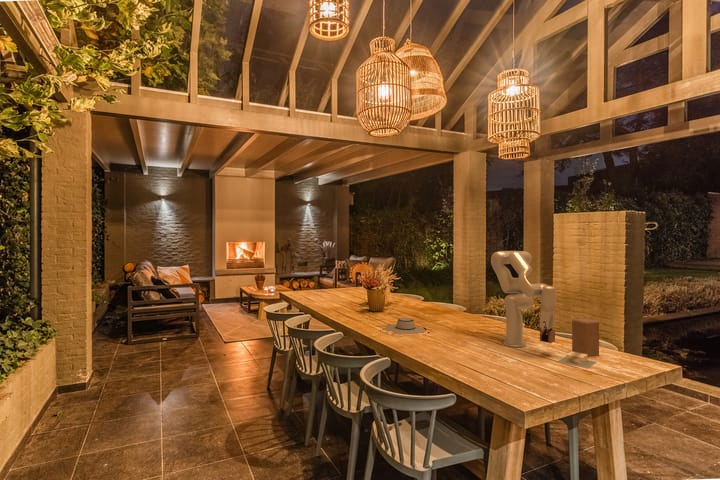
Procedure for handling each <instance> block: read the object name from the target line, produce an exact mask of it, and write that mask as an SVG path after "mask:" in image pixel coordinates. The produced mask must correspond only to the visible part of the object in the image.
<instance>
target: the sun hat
mask: <svg viewBox="0 0 720 480" xmlns="http://www.w3.org/2000/svg"><path fill="white" fill-rule="evenodd" d="M386 326H387V327H385V326H384V327H385V328H383V327H382V328H383V329H382V330H386V331H392V332H393V333H394V334H399V335H401V334H418V333H424V332H426V330H425V329H422V328H420V327H421V326H416V324H415V321H414V318H410V317H409V318H408V317H401V318H397V322H396V323H395V324H388V325H386Z"/></svg>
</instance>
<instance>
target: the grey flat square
mask: <svg viewBox="0 0 720 480" xmlns="http://www.w3.org/2000/svg"><path fill="white" fill-rule="evenodd" d="M557 363H560V364H565V365H569V366H574V367H578V368H584V369H587V370H588V369H590V368H591V367H593V365H595V364H596V363H597V361H594V360H589V359H588V362H587V363H585V364H584V365H578V364H573V363H569V362H566V356H564V357H563V358H561V359H559V360H558V361H557Z"/></svg>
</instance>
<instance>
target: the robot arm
mask: <svg viewBox="0 0 720 480" xmlns="http://www.w3.org/2000/svg"><path fill="white" fill-rule="evenodd" d="M532 260H533V257H532V254H531V253H530V252H528V251H526V250H522V251H521V250H499V251H495V252H493V253H492V255H491V258H490V263H491V267H492V270H493V271H494V272H495V274H496V276H497V279H498V282H499V285H500V287H501V290H502V291H503V293H504V294H508V295H506V296H505V297H504V302H503V303H504V308H505V315H506V316H505V320H506V323H505V324H506V325H505V326H506V327H505V329H506V331H505V332H506V333H505V335H506V336H505V335H500V340H503V345H505V346H507V347H511V348H524V347H526V343H525V342H524V341H523V340H524V339H523V338H524V336H523V335H524V333H523V332H524V331H523V330H524V328H523V327H524V326H523V325H524V324H523V323H524V322H523V320H524V319H523V314H522V312H521V310H526V309H527V310H528V309H530V308H532V307H533V305H534V300H533V298H536V297H537V298H540V311H541V312H540V318H539V328H540V330H542V341H545V342H544V343H547V342H548V330H549V329H550V330H554V327H555V325H556V323H555V321H556V315H555V312H556V310H557V288H556V286H553V285H549V284H546V283H541V282H540V283H530V282H529V280H528V279H527V277H528V276H530V275H531V274H532V271H533V268H532V267H531V265H530V264H531V263H532V262H533V261H532ZM509 264H510V265H511V266H512V268H513V269H514V270H515V272H516V273H517V275H518V277H513V276H512V274H511V271H510V269H509V268H508V267H507V265H509ZM542 341H541V342H542Z"/></svg>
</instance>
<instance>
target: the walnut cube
mask: <svg viewBox="0 0 720 480" xmlns="http://www.w3.org/2000/svg"><path fill="white" fill-rule="evenodd" d="M539 342H543V343H547V344H552V343H554V342H556V330H555V329H553V330H550V329H549V330H548V342H545V341H542V330H541V329H540V330H539Z"/></svg>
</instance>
